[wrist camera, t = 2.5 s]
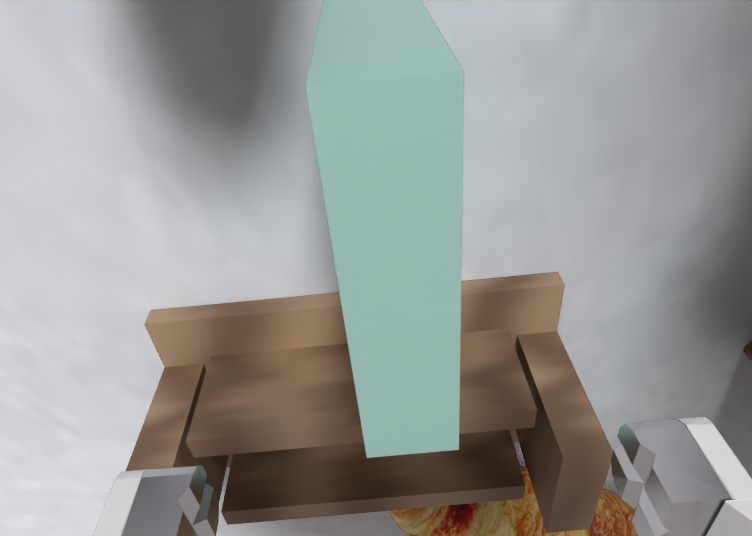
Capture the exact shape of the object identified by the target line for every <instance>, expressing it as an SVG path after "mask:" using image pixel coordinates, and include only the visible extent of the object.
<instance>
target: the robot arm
mask: <svg viewBox="0 0 752 536" xmlns="http://www.w3.org/2000/svg"><path fill="white" fill-rule="evenodd" d="M618 437H619V439H620V441H621V443H622V444H620V445H619V446H618V447H616V448H615V449H614V450H613V454H612V458H611V466H612V475H613V478H614V482H615V485H616V487H617V490H618V492H619V494H620V497H621V499H623V500H624V501H625V502H626V503H628V504H629V505H630V506H631V507H633V508H634V509H635V510H634V514H633V518H632V523H633V525H634V527H635V529H636V532H637V534H638V536H752V478H751V477H750V476H749V474H748V473H747V471H746V470H745V468H744V467H743V466H742V464H741V463H740V461H739V460H738V458H737V457H736V456H735V454H734V453H733V451H732V450H731V449H730V447H729V446H728V444H727V443H726V441H725V440H724V439H723V437H722V436H721V434H720V433H719V431H718V430H717V429H716V427H715V426H714V424H713V423H712V422H711V421H710V420H709V419H707V418H706V417H692V418H683V419H667V420H658V421H649V422H640V423H631V424H624V425H623V426H622V427H620V430H619V433H618ZM206 478H207V473H206V472H205V470H204V468H203V466H202V465H196V466H184V467H173V468H161V469H145V470H135V471H125V472H121V473H120V474H119V476H118V477H117V478H116V480H115V481H114V483H113V486H112V488H111V491H110V493H109V496H108V498H107V501H106V503H105V506H104V508H103V511H102V514H101V516H100V519H99V521H98V524H97V526H96V529H95V531H94V534H93V536H216V532H217V526H218V517H219V504H218V499H217V494H216V492H215V490H214V488H213V487H211V486H210V485H208V484H206V483H205V482H206Z"/></svg>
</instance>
